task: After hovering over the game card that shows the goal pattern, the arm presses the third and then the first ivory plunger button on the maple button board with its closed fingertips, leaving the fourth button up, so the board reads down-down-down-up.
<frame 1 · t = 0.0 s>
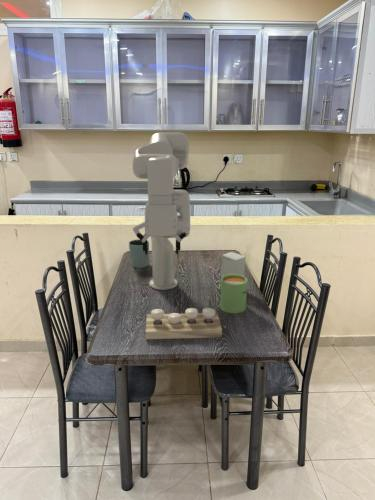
hand: (161, 252, 125), 31 cm above the table, fingers open, 9 cm apart
button 3: (191, 317, 140), point 5 cm above the table, slide at 0.0 cm
button 2: (174, 322, 140), point 3 cm above the table, slide at 1.8 cm
button board: (183, 329, 141), on the table
button 4: (208, 316, 140), point 5 cm above the table, slide at 0.0 cm
drinking glass: (139, 265, 200), on the table
skincare box: (231, 289, 173), on the table
button 1: (157, 318, 139), point 5 cm above the table, slide at 0.0 cm
mug: (233, 306, 158), on the table
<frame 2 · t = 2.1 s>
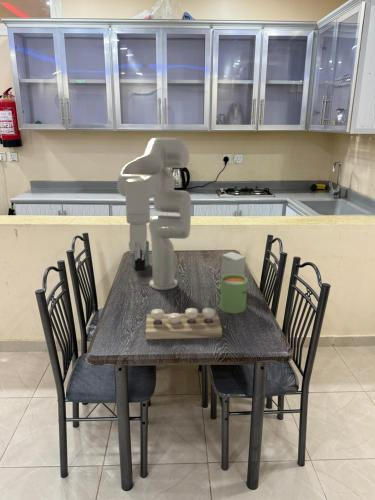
hand: (140, 269, 134), 23 cm above the table, fingers closed
nothing on the table moved.
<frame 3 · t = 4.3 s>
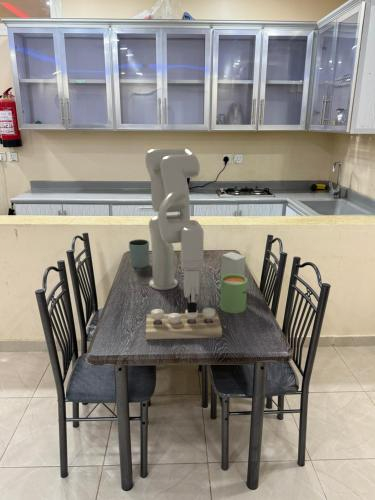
hand: (191, 311, 139), 7 cm above the table, fingers closed
button 3: (191, 317, 140), point 5 cm above the table, slide at 0.1 cm, touching gripper
everything else where it was.
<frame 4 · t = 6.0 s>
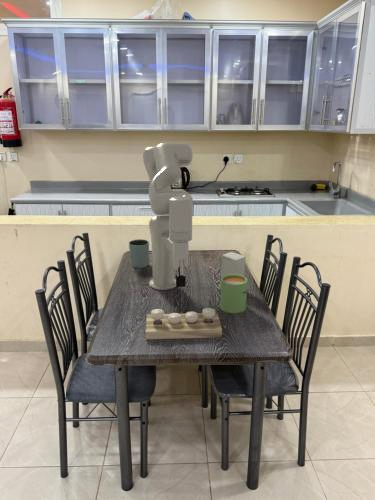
hand: (180, 285, 135), 17 cm above the table, fingers closed
button 3: (191, 320, 140), point 3 cm above the table, slide at 1.4 cm
everything else where it was.
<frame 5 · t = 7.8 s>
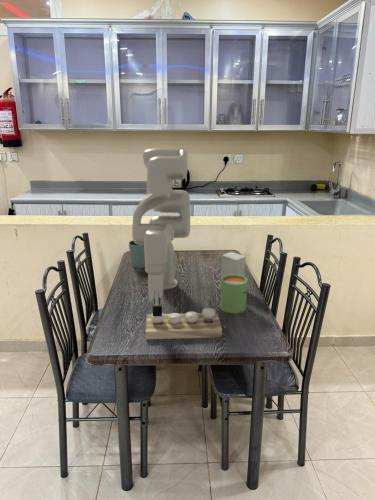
hand: (157, 315, 138), 6 cm above the table, fingers closed
button 1: (157, 321, 139), point 4 cm above the table, slide at 1.2 cm, touching gripper
everything else where it was.
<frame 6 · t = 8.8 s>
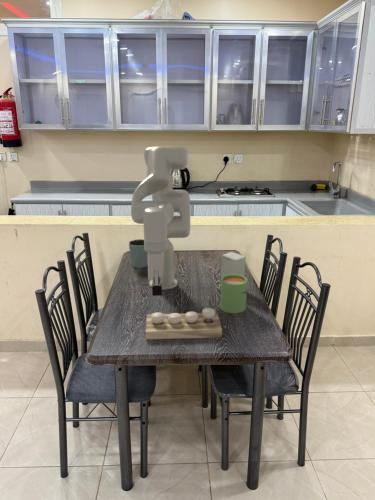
hand: (157, 294, 137), 13 cm above the table, fingers closed
button 1: (157, 321, 139), point 3 cm above the table, slide at 1.4 cm
everything else where it was.
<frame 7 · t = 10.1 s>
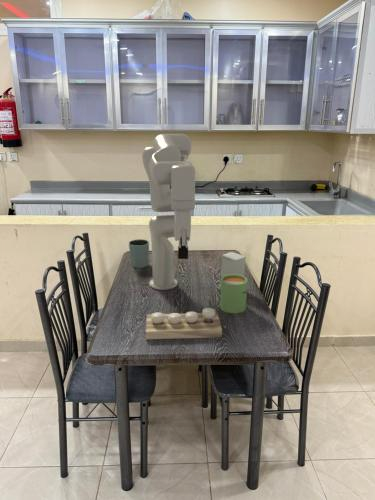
hand: (183, 258, 132), 27 cm above the table, fingers closed
nothing on the table moved.
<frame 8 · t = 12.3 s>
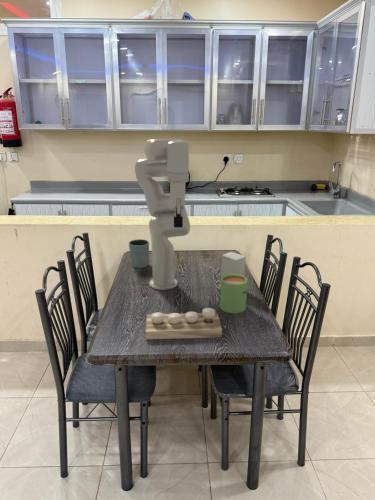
hand: (178, 226, 146), 33 cm above the table, fingers closed
nothing on the table moved.
at the end: button 3 slide at 1.4 cm; button 1 slide at 1.4 cm; button 4 slide at 0.0 cm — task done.
